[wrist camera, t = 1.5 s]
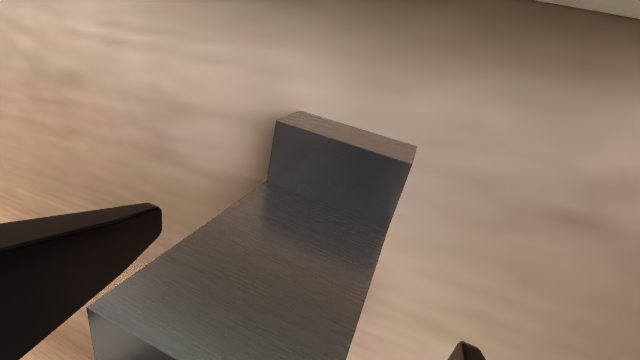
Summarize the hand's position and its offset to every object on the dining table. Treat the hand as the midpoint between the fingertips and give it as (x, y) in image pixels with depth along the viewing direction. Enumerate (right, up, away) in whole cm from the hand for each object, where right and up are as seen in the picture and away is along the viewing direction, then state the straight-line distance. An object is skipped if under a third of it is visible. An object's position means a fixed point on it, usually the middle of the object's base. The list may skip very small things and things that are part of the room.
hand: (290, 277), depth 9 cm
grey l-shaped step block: (+2, +2, +3) cm, 4 cm away
